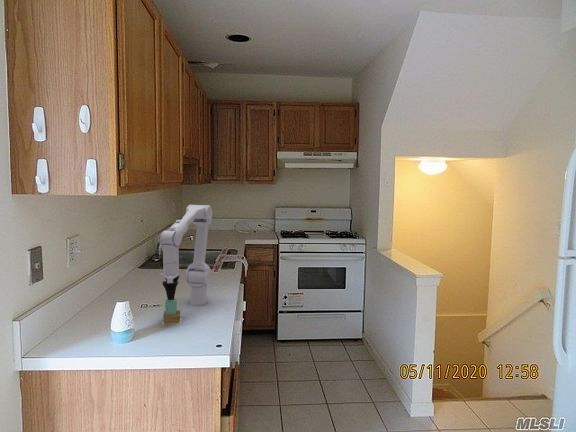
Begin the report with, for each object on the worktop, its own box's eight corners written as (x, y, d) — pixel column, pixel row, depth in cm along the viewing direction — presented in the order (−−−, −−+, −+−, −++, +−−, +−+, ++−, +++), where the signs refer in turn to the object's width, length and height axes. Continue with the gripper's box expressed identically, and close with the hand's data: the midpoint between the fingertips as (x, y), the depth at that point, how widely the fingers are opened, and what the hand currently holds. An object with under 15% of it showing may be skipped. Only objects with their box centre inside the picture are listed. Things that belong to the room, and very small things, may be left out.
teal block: (166, 311, 154) (166, 299, 153) (176, 310, 155) (176, 298, 154) (165, 315, 150) (165, 302, 150) (176, 314, 151) (176, 301, 150)
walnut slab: (164, 318, 155) (164, 310, 155) (180, 317, 156) (180, 309, 156) (163, 323, 149) (163, 316, 149) (179, 322, 150) (179, 315, 150)
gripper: (161, 258, 156) (162, 291, 158) (158, 266, 142) (158, 303, 144) (180, 257, 158) (180, 290, 159) (178, 265, 144) (178, 302, 145)
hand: (171, 296), depth 152 cm, fingers open, 7 cm apart
